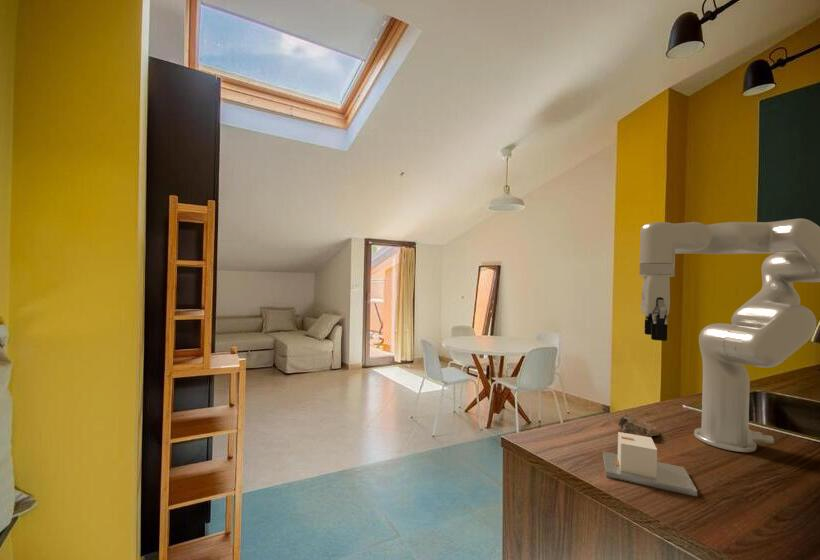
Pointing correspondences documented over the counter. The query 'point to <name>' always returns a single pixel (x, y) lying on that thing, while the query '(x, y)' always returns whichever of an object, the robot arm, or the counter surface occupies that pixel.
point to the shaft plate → (666, 477)
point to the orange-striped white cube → (637, 454)
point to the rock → (637, 427)
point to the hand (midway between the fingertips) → (655, 337)
